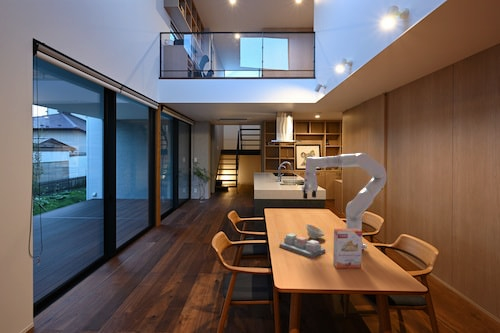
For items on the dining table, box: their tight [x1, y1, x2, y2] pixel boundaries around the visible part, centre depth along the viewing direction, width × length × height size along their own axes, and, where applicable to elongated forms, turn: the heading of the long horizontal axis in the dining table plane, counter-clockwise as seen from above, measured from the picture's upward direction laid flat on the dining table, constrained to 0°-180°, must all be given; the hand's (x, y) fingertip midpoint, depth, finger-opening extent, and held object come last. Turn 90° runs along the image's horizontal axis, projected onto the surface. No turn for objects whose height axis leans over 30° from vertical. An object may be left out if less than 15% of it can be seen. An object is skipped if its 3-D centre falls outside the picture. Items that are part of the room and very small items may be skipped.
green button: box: [285, 232, 297, 240], centre depth 176 cm, size 5×5×3 cm
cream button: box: [307, 239, 320, 247], centre depth 162 cm, size 5×5×3 cm
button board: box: [279, 236, 326, 259], centre depth 169 cm, size 26×15×6 cm, turn 41°
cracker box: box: [332, 228, 363, 269], centre depth 143 cm, size 14×6×21 cm, turn 93°
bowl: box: [305, 224, 325, 240], centre depth 191 cm, size 15×14×10 cm
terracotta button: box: [296, 236, 308, 243], centre depth 169 cm, size 5×5×3 cm
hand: (309, 198), depth 184 cm, fingers open, 9 cm apart
